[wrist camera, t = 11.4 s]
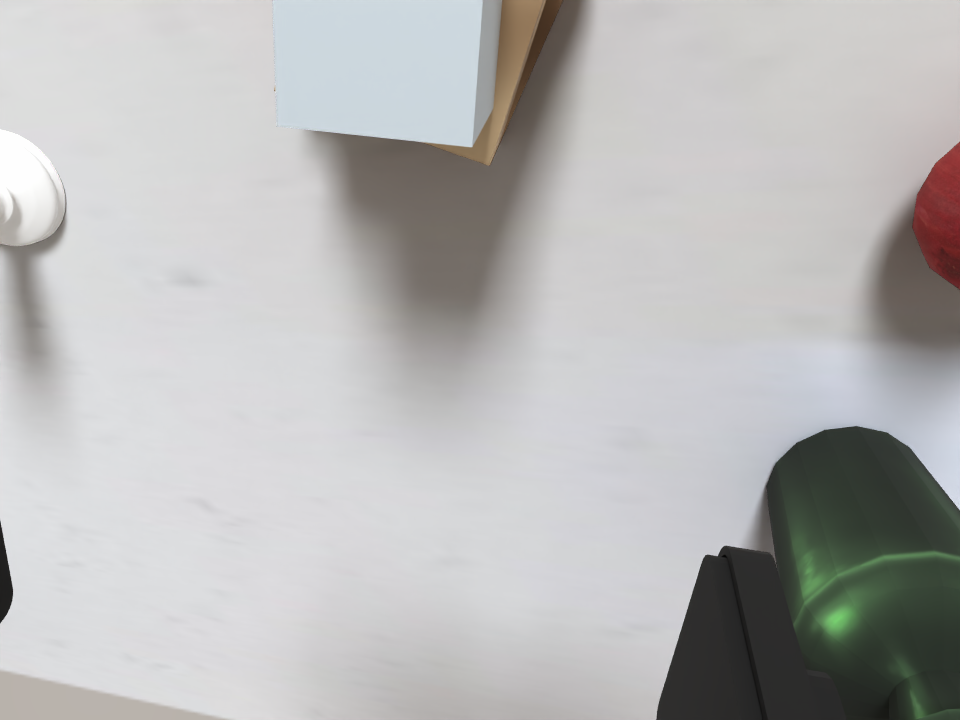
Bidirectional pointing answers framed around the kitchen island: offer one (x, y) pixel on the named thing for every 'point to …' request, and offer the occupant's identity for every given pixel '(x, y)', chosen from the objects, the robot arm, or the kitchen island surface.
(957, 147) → the onion
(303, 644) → the kitchen island surface
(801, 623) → the potion bottle
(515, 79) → the top block
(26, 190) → the chess piece
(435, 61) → the cube
